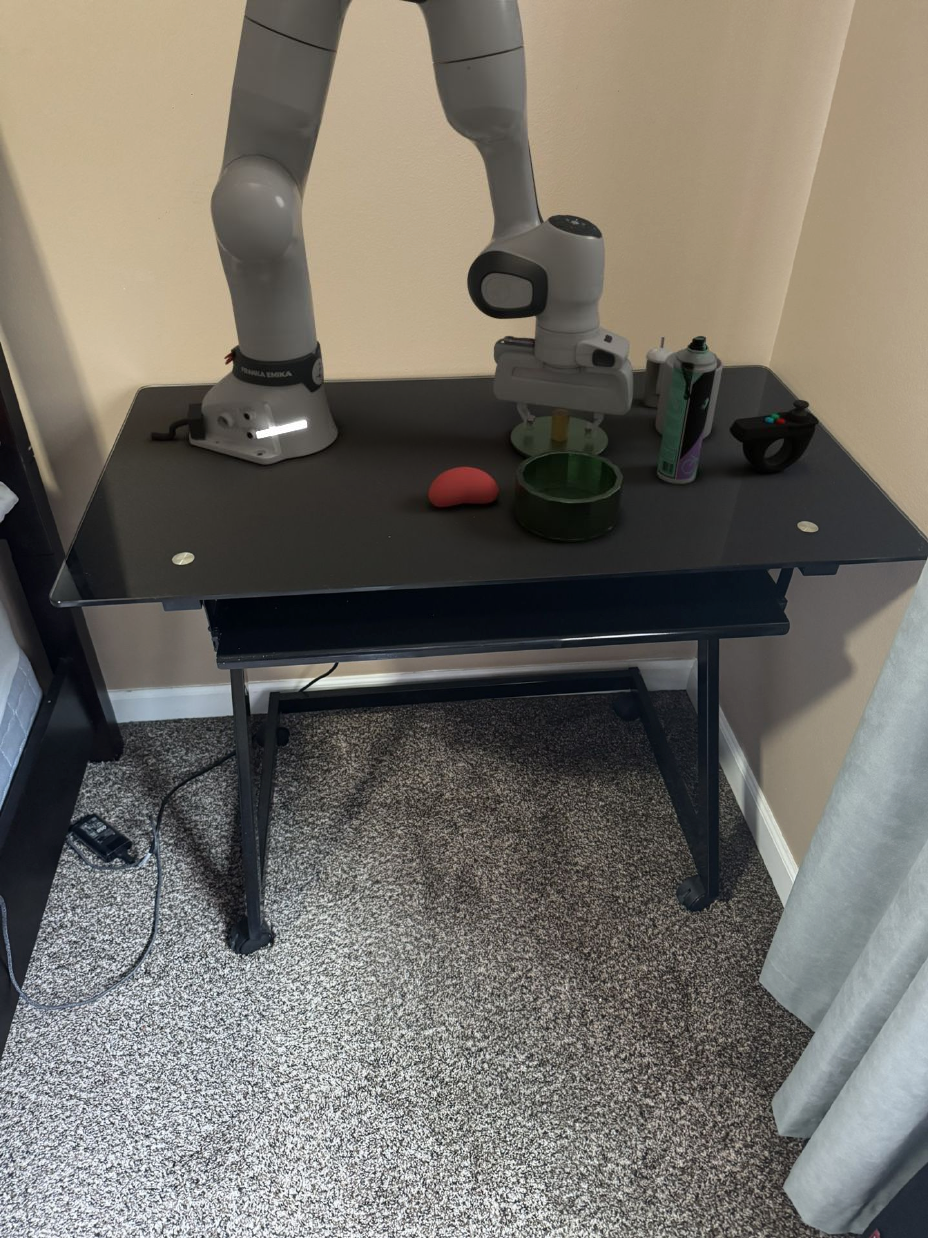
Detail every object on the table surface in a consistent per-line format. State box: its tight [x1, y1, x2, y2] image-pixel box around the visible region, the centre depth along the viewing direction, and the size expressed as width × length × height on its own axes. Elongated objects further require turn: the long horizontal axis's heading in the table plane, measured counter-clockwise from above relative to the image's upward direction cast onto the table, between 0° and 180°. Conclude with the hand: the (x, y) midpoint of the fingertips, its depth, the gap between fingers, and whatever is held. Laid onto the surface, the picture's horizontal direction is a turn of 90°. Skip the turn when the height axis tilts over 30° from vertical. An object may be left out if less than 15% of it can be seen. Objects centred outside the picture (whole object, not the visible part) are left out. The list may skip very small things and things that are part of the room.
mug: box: [655, 351, 724, 440], centre depth 132 cm, size 12×8×11 cm
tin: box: [514, 450, 624, 543], centre depth 115 cm, size 14×14×6 cm
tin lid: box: [510, 408, 609, 459], centre depth 131 cm, size 15×15×5 cm
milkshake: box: [643, 336, 675, 409], centre depth 141 cm, size 5×5×10 cm
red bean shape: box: [427, 466, 500, 508], centre depth 118 cm, size 5×9×6 cm
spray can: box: [656, 335, 718, 485], centre depth 119 cm, size 6×6×20 cm
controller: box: [729, 399, 820, 473], centre depth 124 cm, size 4×12×10 cm, turn 103°
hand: (559, 432), depth 131 cm, fingers open, 8 cm apart
